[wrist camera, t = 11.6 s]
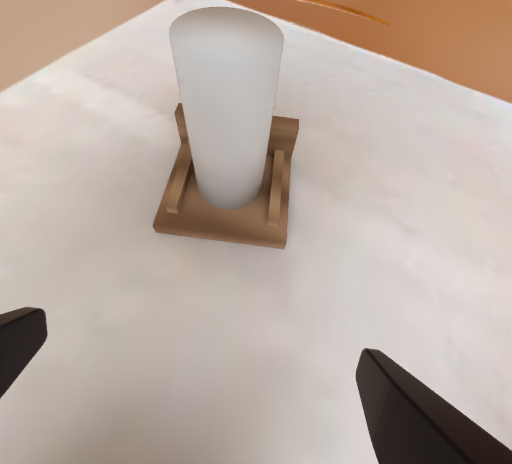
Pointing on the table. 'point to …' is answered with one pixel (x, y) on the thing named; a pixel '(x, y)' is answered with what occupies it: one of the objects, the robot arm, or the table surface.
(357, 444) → the table surface
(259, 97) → the white tall cylinder
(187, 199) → the dock
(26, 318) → the robot arm
